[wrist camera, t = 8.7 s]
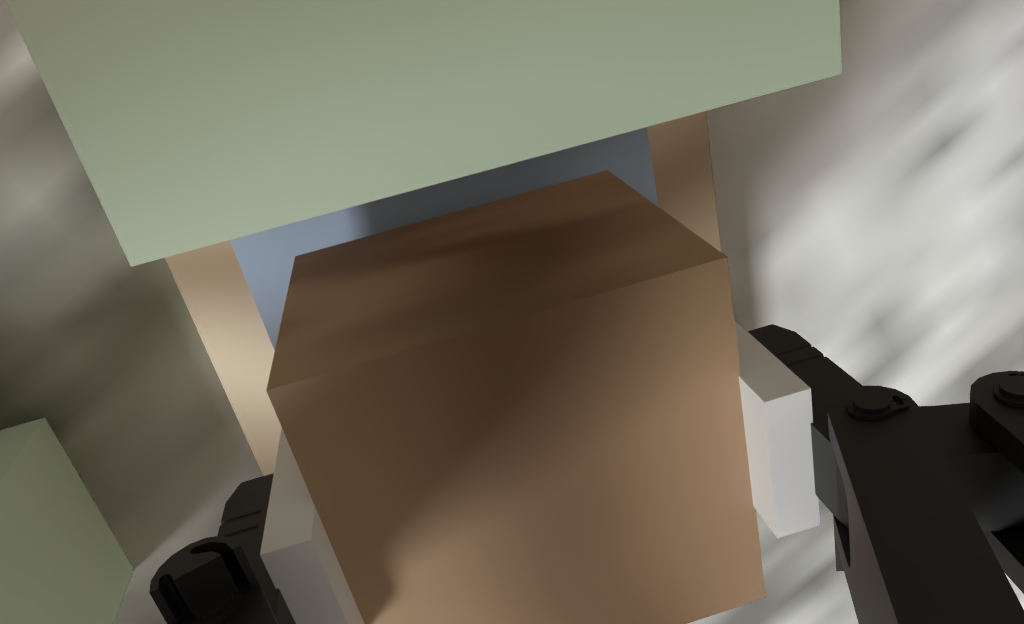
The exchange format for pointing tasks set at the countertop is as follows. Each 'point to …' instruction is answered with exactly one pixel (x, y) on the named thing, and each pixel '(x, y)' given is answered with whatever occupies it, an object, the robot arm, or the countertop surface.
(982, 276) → the countertop surface
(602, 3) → the tower
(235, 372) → the blueprint board
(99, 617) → the sage block
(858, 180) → the countertop surface
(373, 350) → the walnut block
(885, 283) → the countertop surface
